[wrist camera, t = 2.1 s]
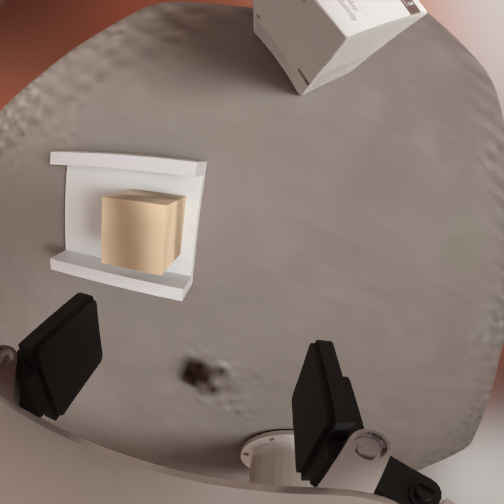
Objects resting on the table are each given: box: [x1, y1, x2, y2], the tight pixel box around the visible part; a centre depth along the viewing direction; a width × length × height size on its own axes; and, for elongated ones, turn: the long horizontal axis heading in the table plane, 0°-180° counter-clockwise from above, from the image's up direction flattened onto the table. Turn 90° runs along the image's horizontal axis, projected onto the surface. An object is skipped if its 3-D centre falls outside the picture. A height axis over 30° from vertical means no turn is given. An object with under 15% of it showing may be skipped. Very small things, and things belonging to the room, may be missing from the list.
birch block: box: [101, 189, 187, 276], centre depth 24 cm, size 6×6×6 cm
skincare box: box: [253, 0, 427, 96], centre depth 15 cm, size 8×6×15 cm
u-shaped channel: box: [50, 151, 207, 301], centre depth 26 cm, size 15×12×4 cm
